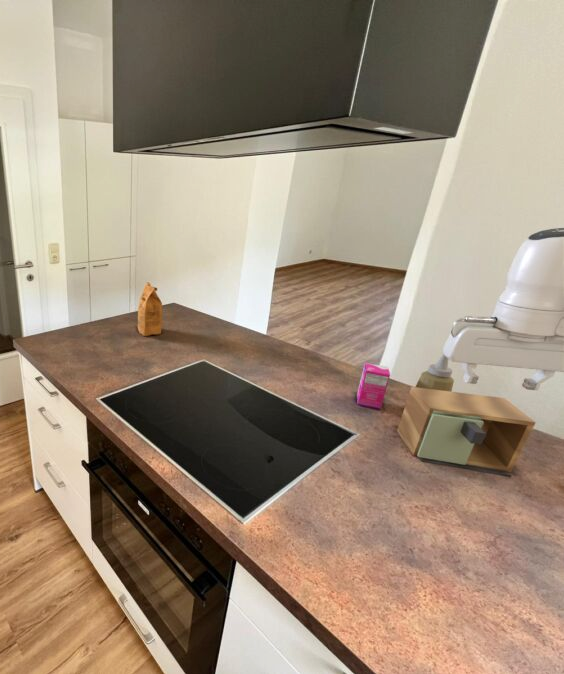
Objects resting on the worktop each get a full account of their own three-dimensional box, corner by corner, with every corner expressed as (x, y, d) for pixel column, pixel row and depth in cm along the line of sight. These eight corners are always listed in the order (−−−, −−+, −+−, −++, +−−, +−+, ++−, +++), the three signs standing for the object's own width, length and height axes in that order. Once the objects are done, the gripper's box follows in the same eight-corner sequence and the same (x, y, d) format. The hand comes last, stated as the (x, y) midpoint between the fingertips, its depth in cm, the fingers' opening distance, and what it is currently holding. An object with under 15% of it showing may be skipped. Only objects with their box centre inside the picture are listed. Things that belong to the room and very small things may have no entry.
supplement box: (355, 396, 109) (364, 362, 105) (379, 401, 106) (389, 366, 102) (356, 405, 104) (365, 369, 100) (380, 410, 101) (391, 374, 97)
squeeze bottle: (398, 409, 102) (417, 351, 95) (419, 404, 104) (439, 347, 98) (429, 425, 95) (452, 363, 88) (450, 419, 97) (474, 359, 90)
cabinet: (483, 444, 87) (504, 398, 83) (516, 477, 77) (542, 427, 72) (396, 430, 93) (411, 386, 88) (416, 460, 82) (434, 412, 78)
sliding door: (463, 463, 80) (482, 420, 76) (475, 477, 76) (495, 433, 72) (416, 455, 83) (432, 413, 79) (425, 468, 79) (442, 425, 75)
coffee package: (155, 326, 169) (157, 280, 161) (163, 336, 158) (165, 287, 150) (135, 328, 168) (135, 281, 160) (141, 337, 156) (142, 288, 148)
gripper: (465, 320, 67) (442, 385, 72) (615, 329, 61) (579, 400, 66) (448, 310, 72) (428, 372, 77) (584, 318, 66) (552, 384, 71)
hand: (498, 385), depth 71 cm, fingers open, 8 cm apart
